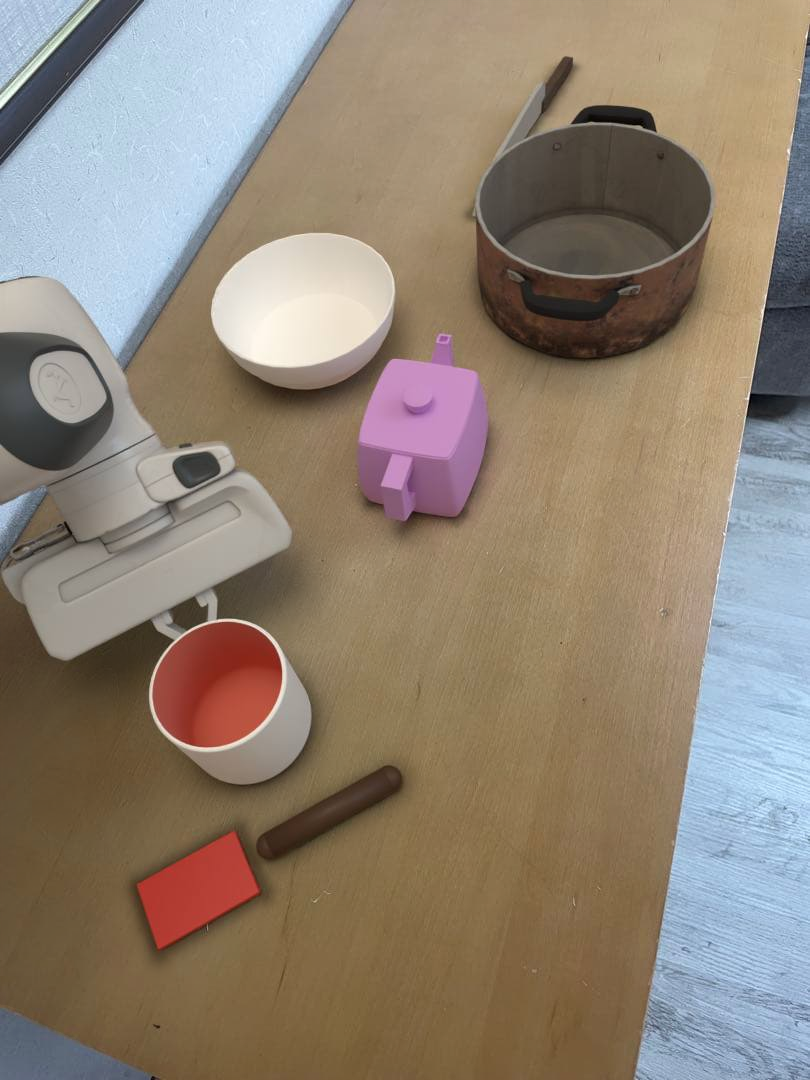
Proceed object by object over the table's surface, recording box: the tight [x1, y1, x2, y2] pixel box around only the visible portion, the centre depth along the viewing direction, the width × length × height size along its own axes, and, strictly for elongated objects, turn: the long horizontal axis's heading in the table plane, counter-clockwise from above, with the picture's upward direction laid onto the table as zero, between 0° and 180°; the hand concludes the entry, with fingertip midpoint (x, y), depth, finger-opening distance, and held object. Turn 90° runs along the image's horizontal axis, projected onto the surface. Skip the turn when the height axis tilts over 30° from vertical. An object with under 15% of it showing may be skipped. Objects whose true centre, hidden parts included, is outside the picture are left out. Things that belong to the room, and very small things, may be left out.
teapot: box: [357, 333, 489, 522], centre depth 75 cm, size 18×10×10 cm, turn 163°
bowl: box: [210, 232, 396, 391], centre depth 86 cm, size 18×18×7 cm
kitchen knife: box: [471, 55, 574, 218], centre depth 101 cm, size 4×1×30 cm
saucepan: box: [474, 104, 717, 359], centre depth 85 cm, size 30×22×11 cm
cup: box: [148, 618, 312, 785], centre depth 64 cm, size 10×10×10 cm
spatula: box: [136, 764, 403, 951], centre depth 63 cm, size 21×5×2 cm, turn 118°
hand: (208, 649), depth 67 cm, fingers closed, pressing on cup
